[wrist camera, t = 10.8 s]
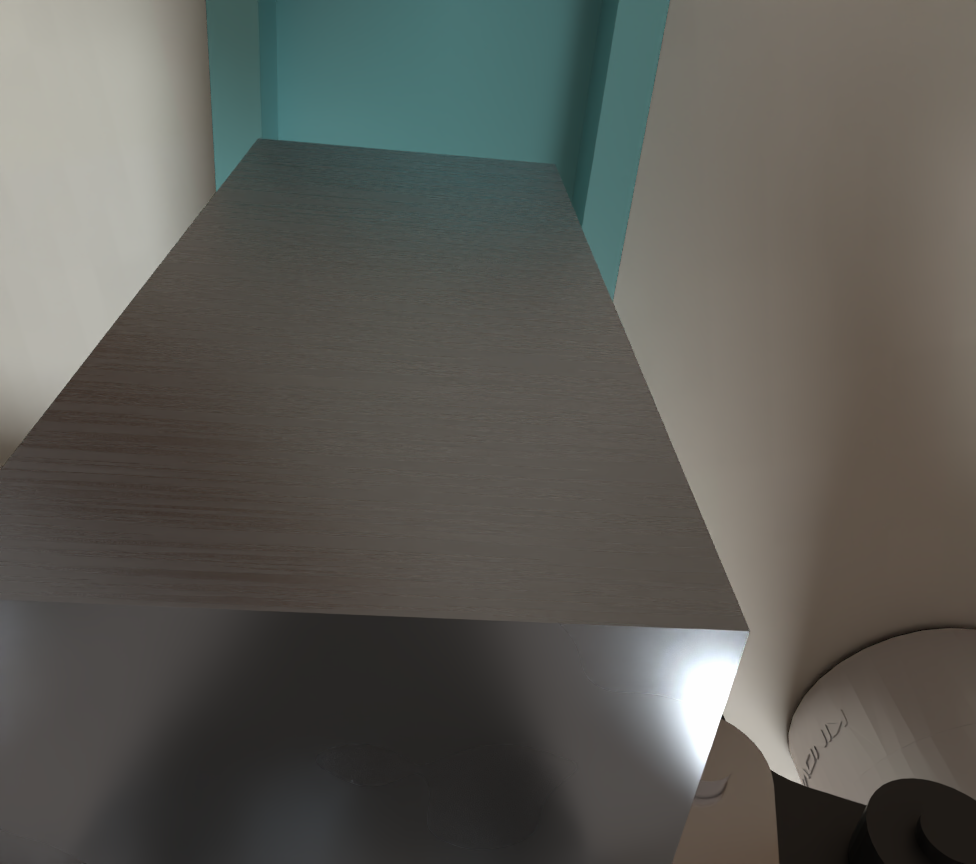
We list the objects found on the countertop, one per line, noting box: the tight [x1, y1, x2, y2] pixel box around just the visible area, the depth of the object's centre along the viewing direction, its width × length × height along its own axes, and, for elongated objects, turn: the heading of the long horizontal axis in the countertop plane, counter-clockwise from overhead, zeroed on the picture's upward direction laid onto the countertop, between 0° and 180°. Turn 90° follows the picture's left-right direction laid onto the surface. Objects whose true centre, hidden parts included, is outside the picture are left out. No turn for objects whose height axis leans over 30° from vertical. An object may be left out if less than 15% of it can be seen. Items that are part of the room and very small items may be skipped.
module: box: [0, 138, 750, 864], centre depth 10 cm, size 4×8×9 cm, turn 175°
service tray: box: [206, 0, 670, 302], centre depth 21 cm, size 9×15×3 cm, turn 174°
